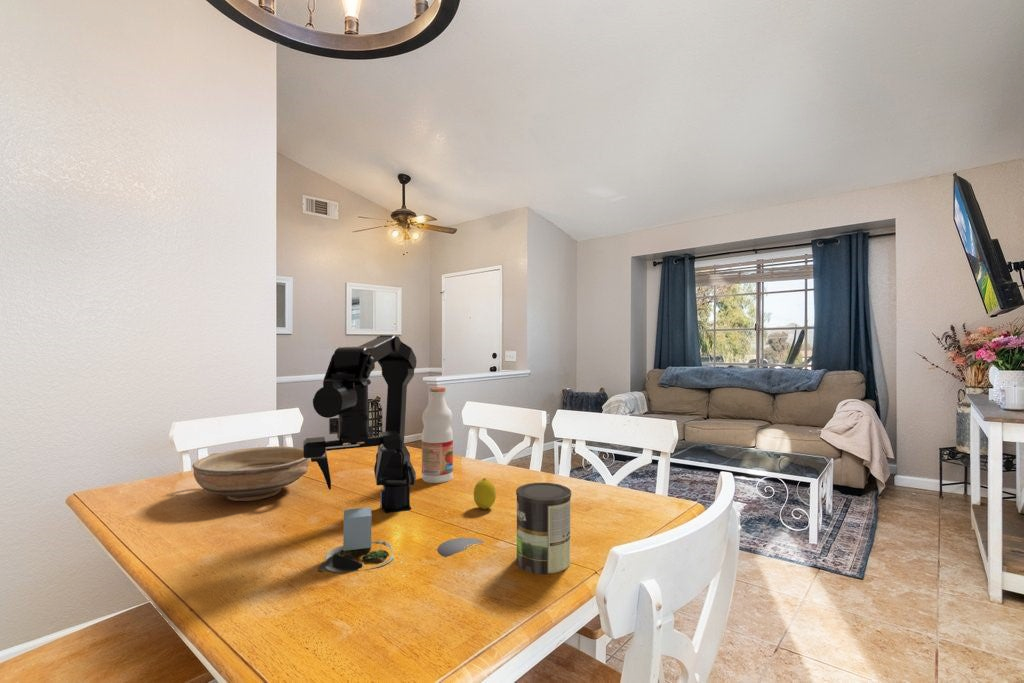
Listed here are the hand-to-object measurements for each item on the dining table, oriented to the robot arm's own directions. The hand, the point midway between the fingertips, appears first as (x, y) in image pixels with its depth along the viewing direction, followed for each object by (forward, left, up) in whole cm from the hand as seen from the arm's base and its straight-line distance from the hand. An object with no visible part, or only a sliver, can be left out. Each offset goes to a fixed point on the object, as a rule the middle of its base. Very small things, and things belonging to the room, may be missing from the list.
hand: (354, 485), depth 96 cm
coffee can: (-32, +22, -13) cm, 41 cm away
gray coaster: (-20, +10, -13) cm, 26 cm away
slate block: (0, +5, -10) cm, 11 cm away
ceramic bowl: (+22, -48, -13) cm, 54 cm away
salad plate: (0, +4, -13) cm, 14 cm away
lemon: (-32, -10, -13) cm, 36 cm away
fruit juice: (-28, -41, -13) cm, 51 cm away
